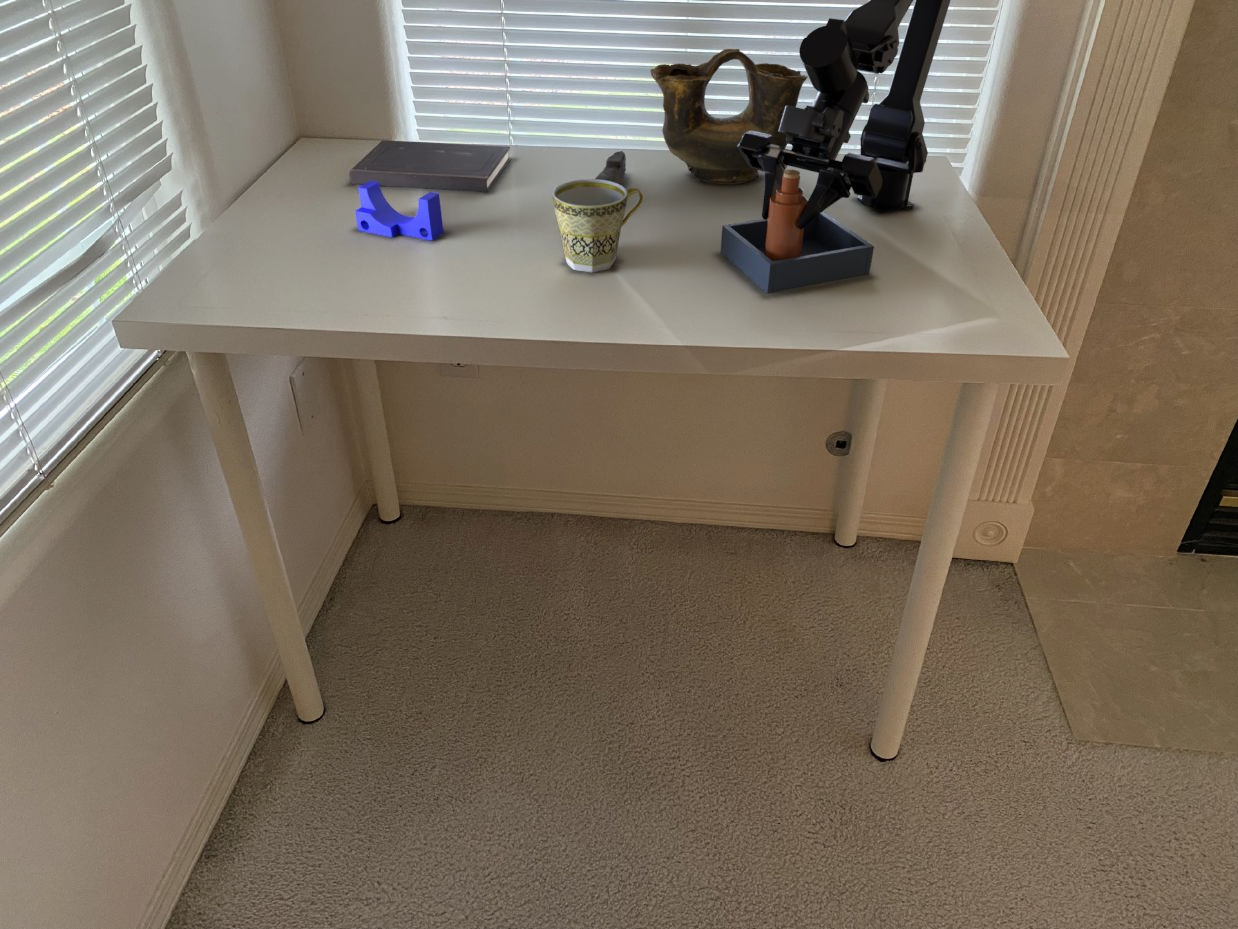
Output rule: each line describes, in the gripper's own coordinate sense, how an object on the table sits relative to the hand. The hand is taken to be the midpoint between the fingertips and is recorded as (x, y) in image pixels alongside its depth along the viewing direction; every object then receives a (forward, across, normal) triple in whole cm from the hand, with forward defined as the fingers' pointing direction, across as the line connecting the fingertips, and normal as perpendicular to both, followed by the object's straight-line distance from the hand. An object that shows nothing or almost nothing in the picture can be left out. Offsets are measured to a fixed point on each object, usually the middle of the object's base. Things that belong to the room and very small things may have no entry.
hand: (781, 222), depth 120 cm
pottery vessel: (-15, -27, +27) cm, 41 cm away
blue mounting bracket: (+20, -52, -8) cm, 56 cm away
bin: (+2, 0, +10) cm, 10 cm away
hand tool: (-1, -38, +14) cm, 40 cm away
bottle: (+4, 0, +5) cm, 6 cm away
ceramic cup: (+12, -22, 0) cm, 26 cm away
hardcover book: (+5, -67, +7) cm, 67 cm away
